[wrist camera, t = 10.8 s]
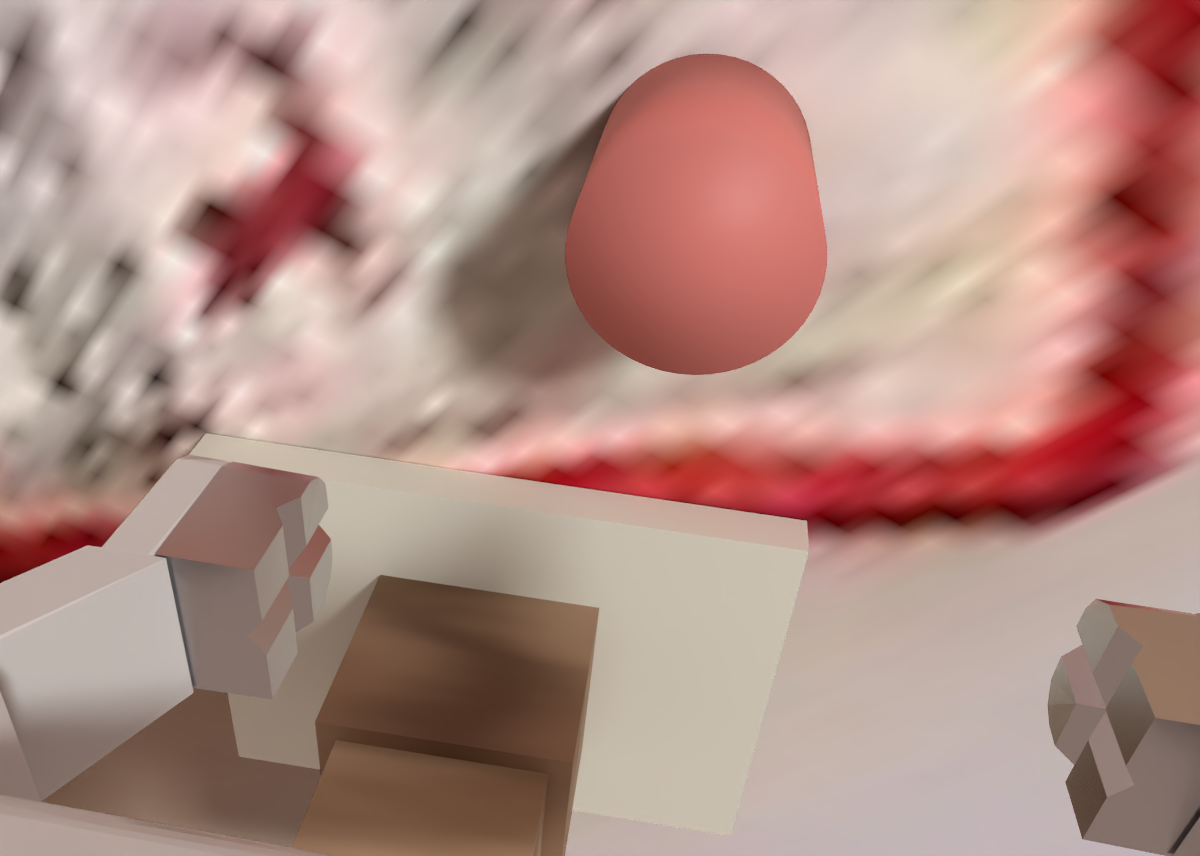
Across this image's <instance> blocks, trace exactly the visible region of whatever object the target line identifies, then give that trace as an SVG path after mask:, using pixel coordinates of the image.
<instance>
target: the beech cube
mask: <svg viewBox="0 0 1200 856" xmlns="http://www.w3.org/2000/svg"><path fill="white" fill-rule="evenodd" d="M547 781H548V774H545V773H539V772H533V771H527V770H520V769H514V768H508V767H502V766H495V765H489V764H483V763H477V762H470V761H464V760H458V759H452V758H445V757H439V756H433V755H427V754H420V753H414V752H408V751H402V750H395V749H389V748H383V747H377V746H370V745H364V744H358V743H352V742H345V741H339V740H336V741H335V744H334V746H333V748H332V751H331V753H330V756H329V758H328V761H327V763H326V765H325V768H324V770H323V773H322V775H321V777H320V780H319V782H318V785H317V787H316V790H315V792H314V794H313V797H312V799H311V802H310V804H309V806H308V809H307V811H306V814H305V816H304V819H303V821H302V823H301V826H300V828H299V831H298V833H297V835H296V838H295V840H294V843H293V845H292V848H298V849H303V850H309V851H314V852H320V853H325V854H331V855H336V856H540V854H541V843H542V833H543V822H544V812H545V801H546V791H547Z"/></svg>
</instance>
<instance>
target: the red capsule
mask: <svg viewBox="0 0 1200 856" xmlns="http://www.w3.org/2000/svg"><path fill="white" fill-rule="evenodd" d="M565 262H566V269H567V276H568V280H569V284H570V287H571V291H572V293H573V296H574V298H575V300H576V303H577V305H578V307H579V308H580V310H581V312H582V313H583V315H584V317H585V318H586V320H587V321H588V322H589V324H590V325H591V326H592V327H593V329H594V330H595V331H596V332H597V333H598V334H599V335H600V336H601V337H602V338H603V339H604V340H605V341H606V342H607V343H609V344H610V345H611V346H612V347H614V348H615V349H616V350H618V351H619V352H621V353H622V354H624V355H626V356H627V357H629V358H631V359H633V360H635V361H637V362H639V363H642V364H644V365H646V366H649V367H652V368H655V369H659V370H662V371H667V372H672V373H677V374H690V375H701V374H714V373H721V372H726V371H730V370H734V369H738V368H741V367H744V366H746V365H749V364H751V363H754V362H756V361H758V360H760V359H762V358H764V357H765V356H767V355H769V354H771V353H772V352H773V351H775V350H776V349H778V348H779V347H781V346H782V345H783V344H784V343H785V342H786V341H788V340H789V339H790V338H791V337H792V336H793V335H794V334H795V333H796V332H797V331H798V329H799V328H800V327H801V326H802V325H803V323H804V322H805V321H806V319H807V318H808V316H809V314H810V313H811V311H812V310H813V308H814V306H815V304H816V302H817V299H818V297H819V295H820V292H821V289H822V286H823V282H824V278H825V272H826V266H827V244H826V236H825V229H824V223H823V217H822V211H821V204H820V198H819V192H818V186H817V180H816V174H815V168H814V162H813V155H812V149H811V143H810V137H809V133H808V129H807V125H806V122H805V119H804V117H803V115H802V113H801V110H800V108H799V107H798V105H797V103H796V102H795V100H794V98H793V97H792V96H791V94H790V93H789V92H788V91H787V90H786V88H785V87H784V86H783V85H782V84H781V83H780V82H779V81H778V80H776V79H775V78H774V77H773V76H772V75H770V74H769V73H767V72H766V71H764V70H763V69H762V68H760V67H758V66H756V65H754V64H752V63H750V62H747V61H744V60H741V59H738V58H735V57H731V56H725V55H719V54H697V55H689V56H684V57H680V58H676V59H673V60H670V61H668V62H665V63H662V64H661V65H659V66H657V67H655V68H653V69H651V70H649V71H648V72H647V73H645V74H644V75H642V76H641V77H640V78H638V79H637V80H636V81H635V82H634V83H633V84H632V85H631V86H630V87H629V88H628V89H627V90H626V91H625V92H624V94H623V95H622V96H621V97H620V99H619V100H618V102H617V103H616V105H615V107H614V108H613V110H612V112H611V114H610V116H609V118H608V121H607V123H606V125H605V128H604V131H603V134H602V136H601V139H600V142H599V144H598V147H597V150H596V152H595V155H594V158H593V160H592V163H591V166H590V169H589V171H588V174H587V177H586V179H585V182H584V185H583V187H582V190H581V193H580V196H579V198H578V201H577V204H576V206H575V209H574V212H573V214H572V218H571V221H570V224H569V228H568V232H567V239H566V256H565Z"/></svg>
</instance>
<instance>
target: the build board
mask: <svg viewBox="0 0 1200 856" xmlns="http://www.w3.org/2000/svg"><path fill="white" fill-rule="evenodd" d="M189 455H195V456H201V457H206V458H212V459H218V460H224V461H228V462H238V463H244V464H250V465H255V466H261V467H266V468H272V469H277V470H283V471H288V472H294V473H300V474H305V475H311V476H316V477H319V478H320V479H321V480H322V481H323V482H325V484H326V492H327V500H328V509H327V511H326V513H325V514H324V516H323V518H322V520H321V521H320V523H319V525H320V526H321V528H322V529H323V530H324V531H325V532H326V534H327V535H328V536H329V537H330V538H331V544H332V567H331V577H330V581H329V585H328V588H327V592H326V595H325V599H324V602H323V604H322V606H321V608H320V611H319V613H318V615H317V617H316V619H315V621H314V622H313V623H311V624H310V625H308V626H306V627H304V628H303V629H301V630H299V631H298V632H296V640H297V650H298V653H297V655H296V657H295V659H294V661H293V662H292V664H291V666H290V668H289V670H288V672H287V674H286V676H285V677H284V679H283V681H282V683H281V685H280V687H279V689H278V691H277V692H276V694H275V696H274V698H273V700H272V699H265V698H258V697H252V696H245V695H238V694H231V693H227V694H228V700H229V705H230V711H231V716H232V722H233V727H234V733H235V738H236V744H237V749H238V755H239V757H244V758H250V759H257V760H263V761H269V762H275V763H281V764H288V765H294V766H300V767H306V768H312V769H319V770H320V764H319V755H318V746H317V736H316V727H315V720H316V718H317V716H318V714H319V711H320V709H321V707H322V705H323V702H324V700H325V698H326V696H327V693H328V691H329V689H330V687H331V684H332V682H333V680H334V678H335V675H336V673H337V671H338V669H339V666H340V664H341V662H342V660H343V657H344V655H345V653H346V651H347V648H348V646H349V644H350V642H351V639H352V637H353V635H354V633H355V630H356V628H357V626H358V623H359V621H360V619H361V617H362V614H363V612H364V610H365V608H366V605H367V603H368V601H369V599H370V596H371V594H372V592H373V590H374V587H375V585H376V583H377V581H378V578H379V576H380V575H385V576H392V577H399V578H405V579H412V580H418V581H425V582H432V583H438V584H445V585H451V586H458V587H465V588H471V589H478V590H484V591H491V592H498V593H504V594H511V595H517V596H524V597H531V598H537V599H544V600H551V601H557V602H564V603H570V604H577V605H584V606H590V607H597V608H599V615H598V623H597V632H596V640H595V648H594V656H593V664H592V672H591V680H590V689H589V697H588V705H587V713H586V721H585V729H584V737H583V746H582V753H581V759H580V765H579V771H578V777H577V783H576V789H575V796H574V802H573V808H572V811H579V812H585V813H591V814H597V815H603V816H609V817H616V818H622V819H628V820H634V821H640V822H647V823H653V824H659V825H665V826H671V827H678V828H684V829H690V830H696V831H702V832H709V833H715V834H721V835H727V836H731V834H732V830H733V826H734V823H735V819H736V815H737V812H738V808H739V805H740V801H741V797H742V794H743V790H744V786H745V783H746V779H747V775H748V772H749V768H750V765H751V761H752V757H753V754H754V750H755V746H756V743H757V739H758V736H759V732H760V728H761V725H762V721H763V717H764V714H765V710H766V706H767V703H768V699H769V696H770V692H771V688H772V685H773V681H774V677H775V674H776V670H777V666H778V663H779V659H780V656H781V652H782V648H783V645H784V641H785V637H786V634H787V630H788V626H789V623H790V619H791V616H792V612H793V608H794V605H795V601H796V597H797V594H798V590H799V586H800V583H801V579H802V576H803V572H804V568H805V565H806V561H807V557H808V554H809V542H808V529H807V521H805V520H798V519H791V518H784V517H778V516H771V515H764V514H757V513H750V512H743V511H736V510H729V509H723V508H716V507H709V506H702V505H695V504H688V503H681V502H674V501H668V500H661V499H654V498H647V497H640V496H633V495H626V494H620V493H613V492H606V491H599V490H592V489H585V488H578V487H571V486H565V485H558V484H551V483H544V482H537V481H530V480H523V479H516V478H510V477H503V476H496V475H489V474H482V473H475V472H468V471H461V470H455V469H448V468H441V467H434V466H427V465H420V464H413V463H406V462H400V461H393V460H386V459H379V458H372V457H365V456H358V455H352V454H345V453H338V452H331V451H324V450H317V449H310V448H303V447H297V446H290V445H283V444H276V443H269V442H262V441H255V440H248V439H242V438H235V437H228V436H221V435H214V434H207V433H206V434H205V435H204V436H203V437H202V439H201V440H200V441H199V442H198V444H197V445H196V446H195V448H194V449H193V450H192V451H191V453H190V454H189Z"/></svg>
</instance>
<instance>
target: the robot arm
mask: <svg viewBox="0 0 1200 856" xmlns="http://www.w3.org/2000/svg"><path fill="white" fill-rule="evenodd" d="M327 509H328V500H327V492H326V484H325V482H323V481H322V480H321V479H320V478H319V477H316V476H311V475H305V474H300V473H294V472H288V471H283V470H277V469H272V468H266V467H261V466H255V465H250V464H244V463H238V462H228V461H224V460H218V459H212V458H206V457H201V456H195V455H186V456H183V457H181V458H178V459H177V460H175V461H174V462H173V464H172V465H171V466H170V467H169V468H168V470H167V471H166V472H165V473H164V474H163V475H162V477H161V478H160V479H159V480H158V481H157V482H156V484H155V485H154V486H153V487H152V488H151V490H150V491H149V492H148V493H147V494H146V495H145V497H144V498H143V499H142V500H141V501H140V502H139V504H138V505H137V506H136V507H135V508H134V509H133V511H132V512H131V513H130V514H129V515H128V517H127V518H126V519H125V520H124V521H123V522H122V524H121V525H120V526H119V527H118V528H117V529H116V531H115V532H114V533H113V534H112V535H111V537H110V538H109V539H108V540H107V541H106V542H105V544H104V545H103V546H102V547H96V546H89V545H87V546H85V547H83V548H80V549H78V550H76V551H73V552H71V553H69V554H66V555H64V556H62V557H60V558H57V559H55V560H53V561H50V562H48V563H46V564H43V565H41V566H39V567H36V568H34V569H32V570H30V571H27V572H25V573H23V574H20V575H18V576H16V577H13V578H11V579H9V580H7V581H4V582H2V583H0V856H336V855H331V854H325V853H320V852H314V851H309V850H303V849H298V848H292V847H287V846H281V845H276V844H270V843H265V842H259V841H254V840H248V839H243V838H237V837H232V836H226V835H221V834H215V833H210V832H204V831H199V830H193V829H188V828H182V827H177V826H171V825H166V824H160V823H155V822H149V821H144V820H138V819H133V818H127V817H122V816H116V815H111V814H105V813H100V812H94V811H89V810H83V809H78V808H72V807H67V806H61V805H56V804H50V803H45V802H41V801H43V800H44V799H46V798H47V797H48V796H50V795H51V794H53V793H54V792H55V791H57V790H58V789H60V788H61V787H62V786H64V785H65V784H67V783H68V782H69V781H71V780H72V779H74V778H75V777H76V776H78V775H79V774H81V773H82V772H83V771H85V770H86V769H88V768H89V767H90V766H92V765H93V764H95V763H96V762H97V761H99V760H100V759H102V758H103V757H104V756H106V755H107V754H109V753H110V752H111V751H113V750H114V749H116V748H117V747H118V746H120V745H121V744H123V743H124V742H125V741H127V740H128V739H130V738H131V737H132V736H134V735H135V734H137V733H138V732H139V731H141V730H142V729H144V728H145V727H146V726H148V725H149V724H151V723H152V722H153V721H155V720H156V719H158V718H159V717H160V716H162V715H163V714H165V713H166V712H167V711H169V710H170V709H172V708H173V707H174V706H176V705H177V704H179V703H180V702H181V701H183V700H184V699H186V698H187V697H188V696H190V695H191V694H193V692H194V690H193V688H196V689H203V690H210V691H217V692H224V693H231V694H238V695H245V696H252V697H258V698H265V699H272V700H273V698H274V696H275V694H276V692H277V691H278V689H279V687H280V685H281V683H282V681H283V679H284V677H285V676H286V674H287V672H288V670H289V668H290V666H291V664H292V662H293V661H294V659H295V657H296V655H297V653H298V650H297V640H296V632H298V631H299V630H301V629H303V628H304V627H306V626H308V625H310V624H311V623H313V622H314V621H315V619H316V617H317V615H318V613H319V611H320V608H321V606H322V604H323V602H324V599H325V595H326V592H327V588H328V585H329V581H330V577H331V567H332V544H331V538H330V537H329V536H328V535H327V534H326V532H325V531H324V530H323V529H322V528H321V526H320V525H319V523H320V521H321V520H322V518H323V516H324V514H325V513H326V511H327ZM1077 629H1078V632H1079V635H1080V638H1081V641H1082V644H1083V645H1081V646H1079V647H1077V648H1076V649H1074V650H1072V651H1070V652H1069V653H1067V654H1065V655H1063V656H1062V657H1061V659H1060V661H1059V663H1058V665H1057V668H1056V670H1055V672H1054V675H1053V677H1052V679H1051V685H1050V692H1049V699H1048V714H1049V725H1050V729H1051V733H1052V736H1053V740H1054V744H1055V746H1056V747H1057V748H1058V749H1059V750H1060V751H1061V752H1062V753H1063V754H1064V755H1065V756H1066V757H1067V758H1068V759H1069V760H1070V761H1071V762H1072V763H1073V764H1074V767H1073V769H1072V771H1071V773H1070V775H1069V777H1068V778H1067V780H1066V785H1067V789H1068V792H1069V795H1070V799H1071V802H1072V805H1073V809H1074V812H1075V815H1076V819H1077V822H1078V826H1079V829H1080V832H1081V836H1082V839H1085V840H1090V841H1095V842H1100V843H1105V844H1110V845H1115V846H1120V847H1125V848H1130V849H1135V850H1140V851H1145V852H1150V853H1155V854H1160V855H1165V856H1200V613H1198V614H1191V613H1185V612H1179V611H1172V610H1166V609H1159V608H1152V607H1146V606H1139V605H1132V604H1126V603H1119V602H1112V601H1106V600H1099V599H1096V600H1094V601H1093V602H1092V603H1091V604H1090V605H1089V606H1088V607H1087V608H1086V609H1085V611H1084V613H1083V615H1082V617H1081V618H1080V620H1079V622H1078V624H1077Z"/></svg>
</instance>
